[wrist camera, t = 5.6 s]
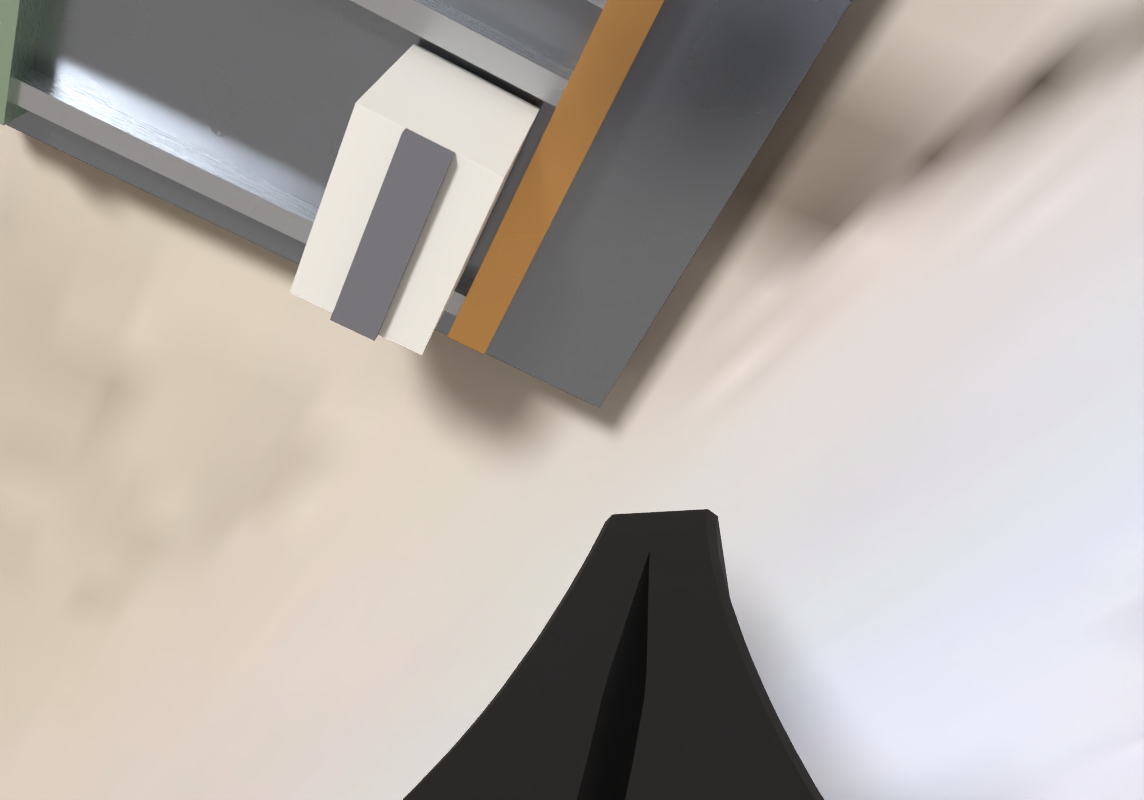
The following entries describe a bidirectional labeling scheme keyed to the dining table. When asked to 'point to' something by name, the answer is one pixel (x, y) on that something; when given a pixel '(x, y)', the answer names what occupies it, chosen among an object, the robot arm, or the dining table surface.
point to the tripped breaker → (410, 197)
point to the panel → (481, 46)
